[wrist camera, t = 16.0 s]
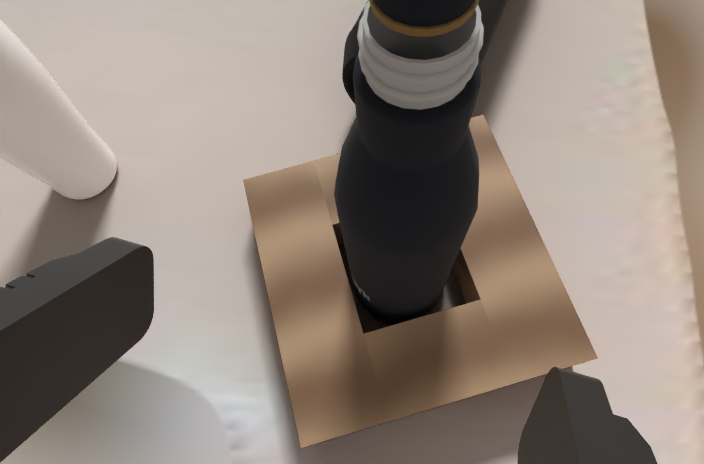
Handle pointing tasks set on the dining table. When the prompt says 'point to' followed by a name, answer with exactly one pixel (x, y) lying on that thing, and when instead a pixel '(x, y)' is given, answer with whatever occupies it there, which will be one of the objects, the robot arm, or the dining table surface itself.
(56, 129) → the drinking glass
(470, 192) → the black bottle
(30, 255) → the dining table surface
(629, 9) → the dining table surface
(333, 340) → the walnut jig
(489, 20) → the portable speaker
